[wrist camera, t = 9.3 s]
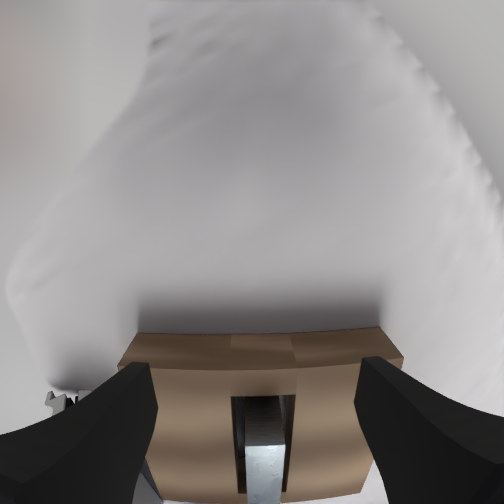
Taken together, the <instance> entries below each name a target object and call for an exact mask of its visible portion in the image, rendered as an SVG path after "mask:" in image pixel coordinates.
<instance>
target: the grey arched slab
mask: <svg viewBox="0 0 504 504" xmlns="http://www.w3.org/2000/svg"><path fill="white" fill-rule="evenodd" d="M91 392H92V391H89V390H79V394H78V396H76V397H75V403H76V402H78V401H79V400H81V399H82V398H84V397H85V396H87V395H88V394H90V393H91ZM73 404H74V403H73V401H72V399H71V398H67V396H66V394H63V395H61V396H58V397H55V395H54V393H53V391H51V392H48V394H47V398H46V401H45V405H46V407H47V409H48V410H49V412H50V414H51V415H52V416H53V415H55V414H57V413H59V412H61V411H63V410H65V409H66V408H68V407H70V406H71V405H73ZM132 504H163V502H162V500H161V499H160V498H159V496H158V495H157V494H156V492H155V491H154V490H153V488H152V487H151V486H150V484H149V483H148V481H147V480H146V479H145V477H144V476H143V474H142V473H141V472H140V474H139V476H138V479H137V483H136V487H135V491H134V496H133V501H132Z"/></svg>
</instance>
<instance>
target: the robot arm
mask: <svg viewBox="0 0 504 504" xmlns="http://www.w3.org/2000/svg"><path fill="white" fill-rule="evenodd" d="M353 403H354V406H355V410H356V414H357V418H358V421H359V425H360V428H361V430H362V432H363V435H364V437H365V439H366V442H367V444H368V446H369V449H370V451H371V453H372V456H373V458H374V460H375V462H376V465H377V467H378V469H379V472H380V475H381V477H382V480H383V483H384V487H385V491H386V494H387V498H388V502H389V504H504V417H501V416H497V415H493V414H489V413H486V412H483V411H479V410H476V409H473V408H471V407H468V406H466V405H463V404H461V403H458V402H456V401H454V400H452V399H449V398H447V397H445V396H443V395H441V394H440V393H438V392H436V391H434V390H432V389H430V388H429V387H427V386H425V385H424V384H422V383H420V382H419V381H417V380H415V379H414V378H412V377H411V376H409V375H408V374H406V373H405V372H403V371H402V370H400V369H399V368H397V367H396V366H394V365H392V364H391V363H389V362H388V361H386V360H385V359H383V358H381V357H379V356H372V357H363V358H362V360H361V366H360V372H359V377H358V382H357V388H356V393H355V398H354V402H353ZM158 408H159V407H158V403H157V399H156V394H155V390H154V385H153V380H152V376H151V371H150V366H149V363H146V362H131V363H130V364H128V365H127V366H125V367H124V368H123V369H121V370H120V371H119V372H118V373H116V374H115V375H114V376H112V377H111V378H110V379H109V380H107V381H106V382H105V383H103V384H102V385H101V386H99V387H98V388H97V389H95V390H94V391H92V392H91V393H90V394H88V395H87V396H85V397H84V398H82V399H81V400H79V401H78V402H76V403H75V404H73V405H71V406H70V407H68V408H66V409H65V410H63V411H61V412H59V413H57V414H55V415H53V416H51V417H50V418H47V419H45V420H43V421H40V422H38V423H35V424H33V425H30V426H28V427H25V428H22V429H19V430H16V431H13V432H10V433H6V434H2V435H0V504H132V501H133V496H134V491H135V487H136V483H137V479H138V476H139V474H140V471H141V468H142V465H143V462H144V459H145V456H146V453H147V450H148V447H149V444H150V442H151V439H152V436H153V433H154V429H155V424H156V419H157V413H158ZM184 503H185V504H208V503H192V502H184Z"/></svg>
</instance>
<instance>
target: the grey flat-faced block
mask: <svg viewBox="0 0 504 504" xmlns="http://www.w3.org/2000/svg"><path fill="white" fill-rule="evenodd" d="M284 455H285V439H284V431H283V424H282V417H281V410H280V402H279V395H272V396H245V456H246V478H247V498H248V504H280V498H281V488H282V478H283V467H284Z"/></svg>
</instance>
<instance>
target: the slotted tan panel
mask: <svg viewBox="0 0 504 504" xmlns="http://www.w3.org/2000/svg"><path fill="white" fill-rule="evenodd" d="M372 356H379V357H381V358H383V359H385V360H386V361H388V362H389V363H391V364H392V365H394V366H396V367H397V368H399V369H400V370H401V368H402V364H403V360H404V357H403V356H402V354H401V353H400V352H399V350H398V349H397V348H396V347H395V345H394V344H393V343H392V341H391V340H390V339H389V338H388V336H387V335H386V334H385V333H384V331H383V330H382V329H381V328H380V327H373V328H362V329H350V330H336V331H320V332H302V333H278V334H235V335H197V334H154V333H137V334H136V336H135V337H134V339H133V341H132V342H131V344H130V345H129V347H128V349H127V350H126V352H125V354H124V355H123V357H122V359H121V360H120V362H119V363H118V365H117V367H118V371H120V370H121V369H123V368H124V367H125V366H127V365H128V364H130V363H131V362H146V363H149V366H150V371H151V376H152V380H153V385H154V390H155V394H156V399H157V403H158V407H159V408H158V413H157V419H156V424H155V429H154V433H153V436H152V439H151V442H150V444H149V447H148V450H147V453H146V456H145V458H146V461H147V464H148V466H149V469H150V472H151V474H152V477H153V479H154V482H155V484H156V487H157V489H158V491H159V494H160V496H161V498H162V500H171V501H180V502H192V503H208V504H248V498H247V478H246V457H239V456H238V442H237V426H236V410H235V396H272V395H286V403H285V419H284V439H285V455H284V467H283V478H282V488H281V498H280V503H288V502H299V501H309V500H318V499H325V498H332V497H339V496H345V495H350V494H356V493H360V492H361V490H362V487H363V485H364V482H365V480H366V478H367V475H368V472H369V470H370V467H371V465H372V462H373V459H374V458H373V456H372V453H371V451H370V449H369V446H368V444H367V442H366V439H365V437H364V435H363V432H362V430H361V428H360V425H359V421H358V418H357V414H356V410H355V406H354V403H353V402H354V398H355V393H356V388H357V382H358V377H359V372H360V366H361V360H362V358H363V357H372Z"/></svg>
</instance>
